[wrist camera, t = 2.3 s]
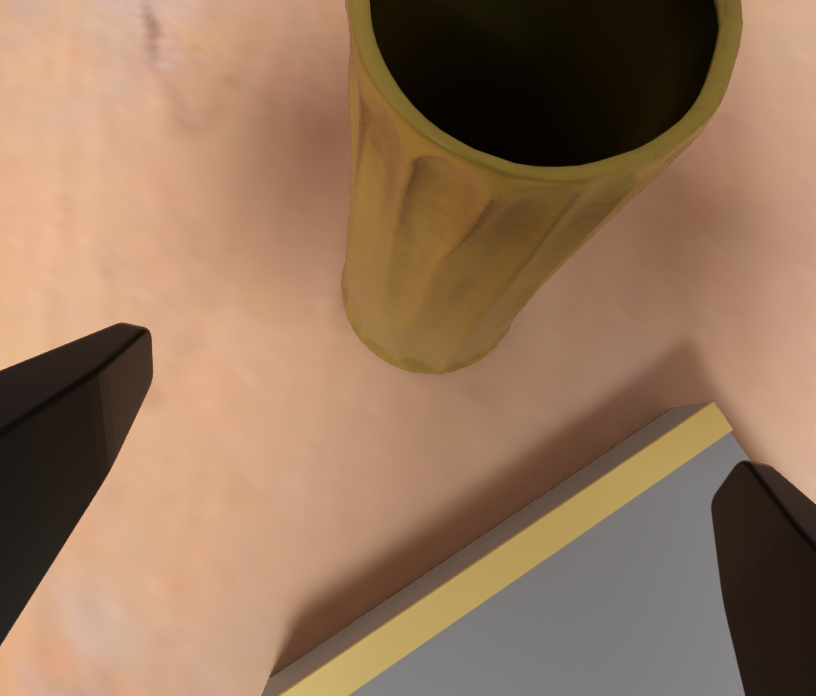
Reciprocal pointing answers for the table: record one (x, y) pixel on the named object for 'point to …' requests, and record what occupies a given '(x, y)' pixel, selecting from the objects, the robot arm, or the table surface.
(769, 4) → the table surface
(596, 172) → the vase
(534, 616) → the gray and yellow box
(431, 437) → the table surface
